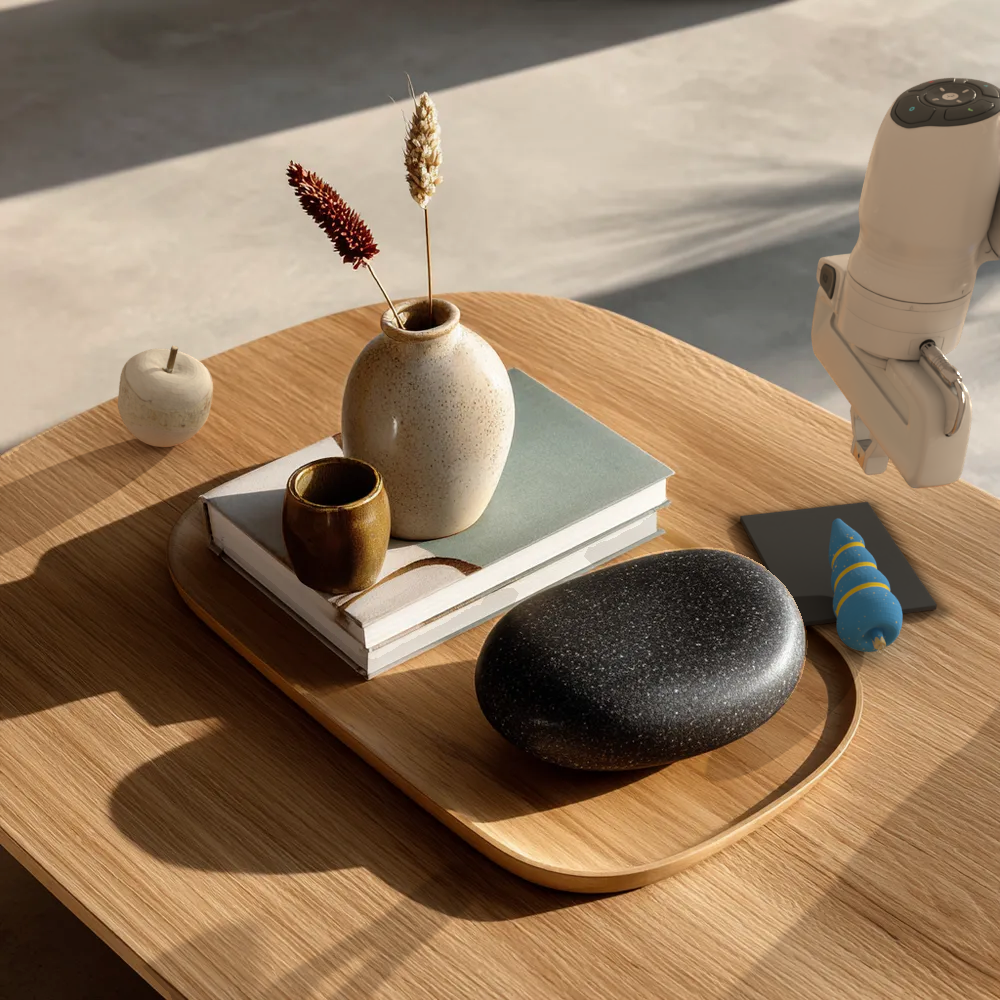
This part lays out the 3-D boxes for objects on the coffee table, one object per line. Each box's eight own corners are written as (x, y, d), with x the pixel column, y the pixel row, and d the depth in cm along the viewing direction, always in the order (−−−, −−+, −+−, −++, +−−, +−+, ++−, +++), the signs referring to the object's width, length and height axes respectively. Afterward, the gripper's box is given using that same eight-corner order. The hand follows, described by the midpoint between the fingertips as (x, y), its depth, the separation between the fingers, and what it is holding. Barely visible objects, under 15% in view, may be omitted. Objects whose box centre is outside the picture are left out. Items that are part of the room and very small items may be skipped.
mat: (866, 505, 120) (867, 501, 119) (936, 609, 109) (937, 605, 108) (739, 520, 118) (740, 515, 117) (797, 627, 107) (798, 622, 107)
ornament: (796, 534, 114) (834, 670, 102) (822, 491, 110) (864, 626, 99) (852, 545, 115) (895, 680, 104) (879, 502, 111) (926, 637, 100)
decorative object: (108, 435, 126) (90, 344, 120) (189, 402, 131) (175, 313, 125) (155, 478, 121) (138, 385, 115) (237, 442, 126) (226, 351, 120)
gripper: (1012, 382, 89) (964, 542, 97) (885, 243, 105) (854, 391, 113) (924, 390, 88) (883, 552, 96) (809, 249, 104) (784, 398, 112)
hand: (867, 464), depth 105 cm, fingers closed
